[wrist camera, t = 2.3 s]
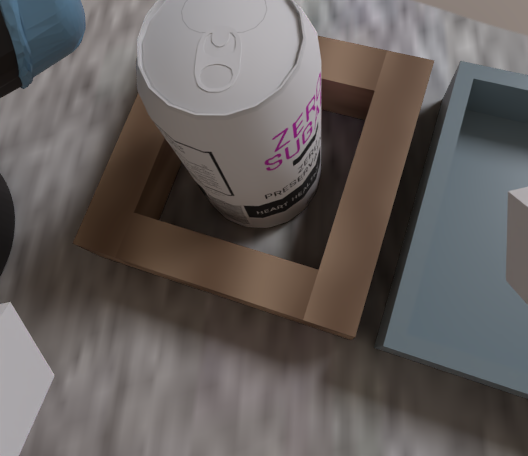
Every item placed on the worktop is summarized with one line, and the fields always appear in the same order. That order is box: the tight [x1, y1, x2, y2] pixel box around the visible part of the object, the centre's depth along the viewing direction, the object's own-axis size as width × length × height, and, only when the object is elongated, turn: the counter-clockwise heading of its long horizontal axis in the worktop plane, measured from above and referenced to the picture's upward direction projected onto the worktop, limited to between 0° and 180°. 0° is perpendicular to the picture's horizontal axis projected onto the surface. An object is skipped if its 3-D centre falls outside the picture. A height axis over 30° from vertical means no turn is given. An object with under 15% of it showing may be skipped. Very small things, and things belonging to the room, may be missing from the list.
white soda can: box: [136, 0, 321, 228], centre depth 27 cm, size 8×8×15 cm
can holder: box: [73, 36, 434, 340], centre depth 32 cm, size 18×18×4 cm
